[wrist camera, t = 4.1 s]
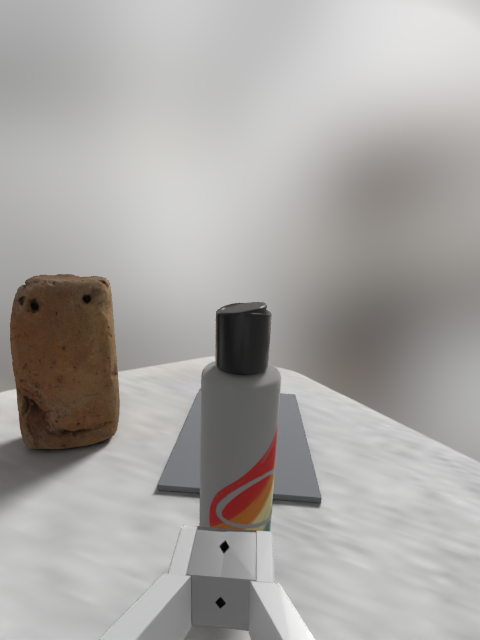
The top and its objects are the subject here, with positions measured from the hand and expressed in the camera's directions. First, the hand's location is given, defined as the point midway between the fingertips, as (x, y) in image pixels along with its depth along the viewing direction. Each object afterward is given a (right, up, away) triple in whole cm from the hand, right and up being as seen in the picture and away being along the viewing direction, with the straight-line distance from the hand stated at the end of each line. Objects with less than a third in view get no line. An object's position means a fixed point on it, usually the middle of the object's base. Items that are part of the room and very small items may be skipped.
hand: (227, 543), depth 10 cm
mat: (+1, -8, +31) cm, 31 cm away
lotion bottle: (0, -11, +15) cm, 19 cm away
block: (-20, -7, +29) cm, 36 cm away
